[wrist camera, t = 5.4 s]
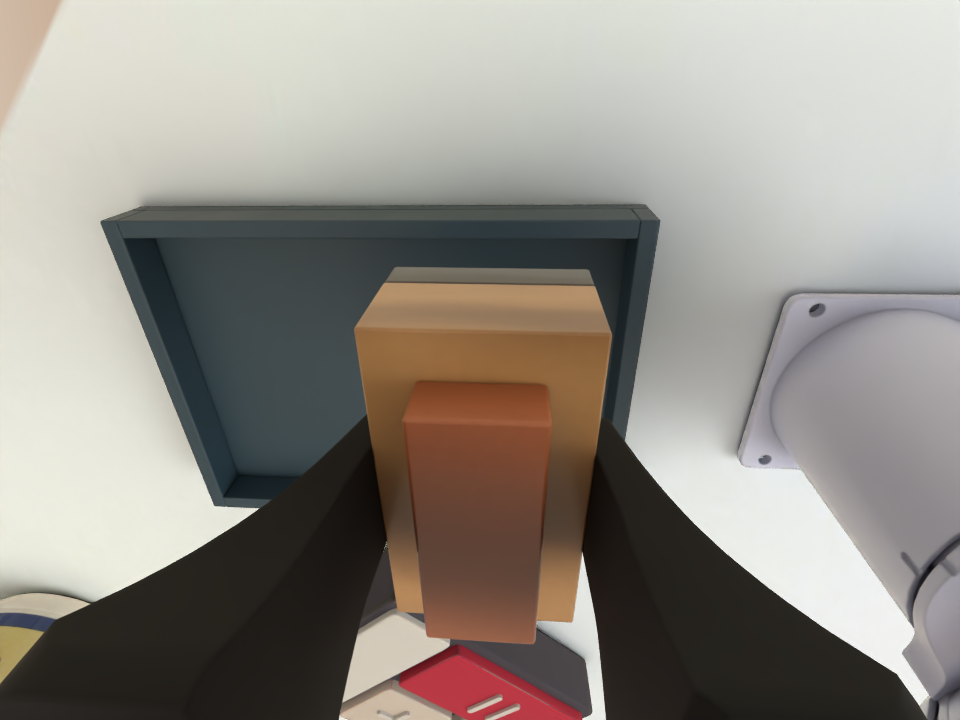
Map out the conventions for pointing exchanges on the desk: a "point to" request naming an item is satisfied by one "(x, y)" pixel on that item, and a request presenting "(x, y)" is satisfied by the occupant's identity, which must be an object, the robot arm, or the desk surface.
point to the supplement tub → (28, 623)
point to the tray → (335, 311)
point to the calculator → (454, 671)
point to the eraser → (485, 440)
